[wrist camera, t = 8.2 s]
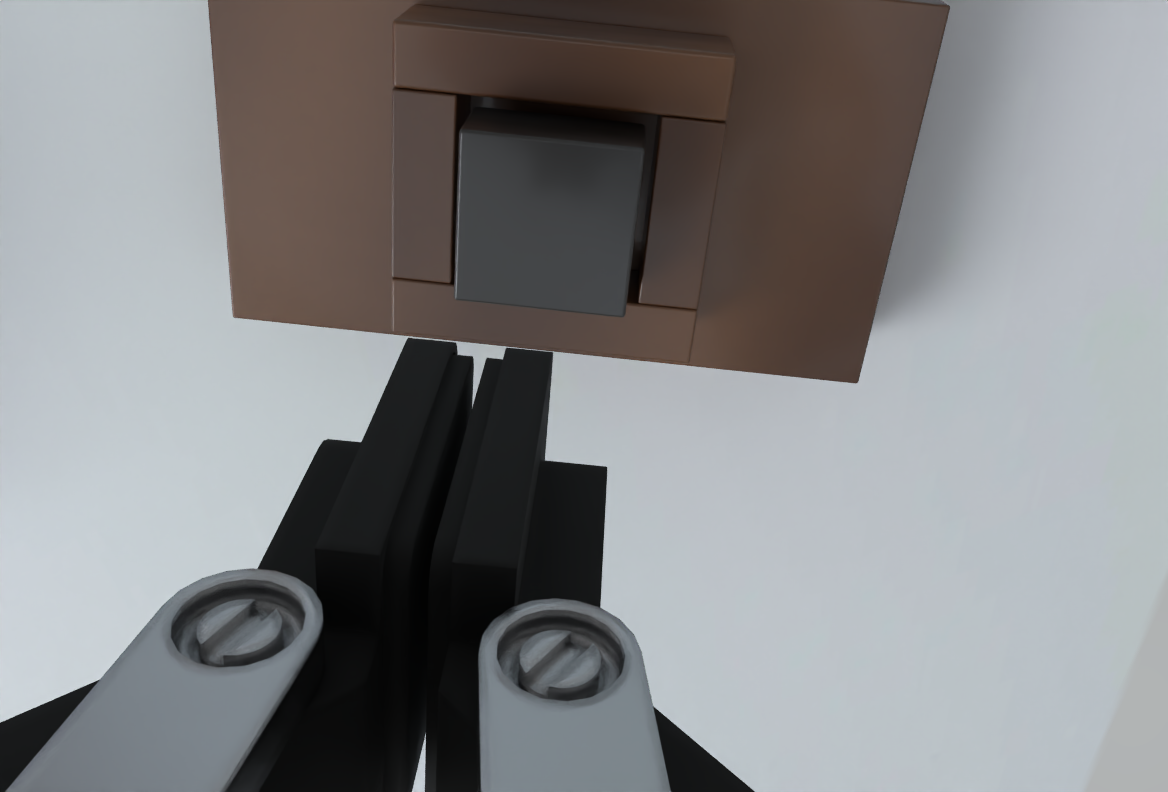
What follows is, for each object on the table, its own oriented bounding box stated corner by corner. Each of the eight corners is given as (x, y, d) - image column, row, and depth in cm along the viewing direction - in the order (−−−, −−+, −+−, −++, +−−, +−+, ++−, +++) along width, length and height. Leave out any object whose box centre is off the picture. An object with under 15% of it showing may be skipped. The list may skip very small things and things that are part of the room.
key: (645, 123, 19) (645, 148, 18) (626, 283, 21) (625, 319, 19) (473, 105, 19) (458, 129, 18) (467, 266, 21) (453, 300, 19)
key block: (924, -11, 21) (978, 21, 18) (842, 341, 25) (873, 425, 22) (241, -82, 21) (161, -64, 18) (264, 280, 25) (202, 354, 22)
